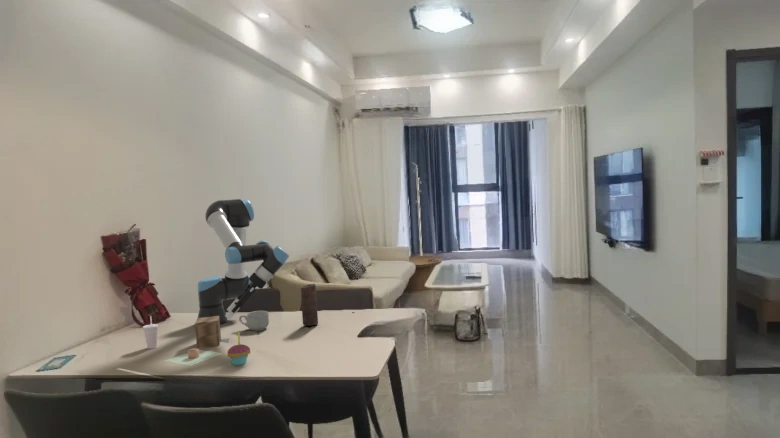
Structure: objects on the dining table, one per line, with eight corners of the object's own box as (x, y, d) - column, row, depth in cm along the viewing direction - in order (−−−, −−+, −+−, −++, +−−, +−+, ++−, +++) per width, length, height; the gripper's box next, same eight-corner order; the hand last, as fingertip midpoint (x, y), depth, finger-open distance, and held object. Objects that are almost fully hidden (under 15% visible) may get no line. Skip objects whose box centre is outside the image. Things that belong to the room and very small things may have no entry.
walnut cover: (197, 348, 221) (195, 323, 220) (199, 342, 231) (198, 318, 230) (219, 346, 223) (217, 320, 223) (221, 339, 233) (219, 315, 232)
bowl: (185, 358, 207) (185, 350, 207) (194, 355, 211) (194, 347, 211) (192, 359, 205) (192, 351, 205) (201, 356, 209) (200, 348, 209)
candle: (316, 327, 247) (314, 285, 246) (301, 328, 248) (298, 286, 247) (319, 323, 255) (316, 282, 254) (304, 324, 255) (301, 283, 254)
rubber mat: (188, 351, 219) (188, 350, 219) (191, 343, 231) (191, 342, 231) (227, 346, 223) (227, 345, 223) (229, 339, 235) (229, 338, 235)
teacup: (272, 326, 255) (271, 310, 254) (265, 332, 244) (264, 315, 243) (245, 327, 256) (244, 311, 256) (236, 333, 245) (235, 316, 245)
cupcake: (231, 360, 203) (228, 330, 202) (253, 358, 203) (250, 328, 203) (225, 368, 194) (223, 336, 193) (249, 366, 195) (246, 334, 194)
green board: (163, 362, 205) (163, 361, 205) (197, 350, 219) (197, 349, 219) (189, 367, 197) (189, 365, 197) (223, 355, 211) (223, 353, 211)
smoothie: (163, 345, 231) (160, 314, 230) (152, 349, 225) (149, 318, 224) (152, 345, 233) (149, 314, 232) (140, 349, 227) (138, 317, 226)
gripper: (267, 286, 219) (233, 326, 216) (267, 278, 243) (236, 313, 241) (253, 275, 218) (219, 315, 215) (254, 268, 242) (223, 303, 239)
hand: (228, 314), depth 228 cm, fingers open, 13 cm apart
